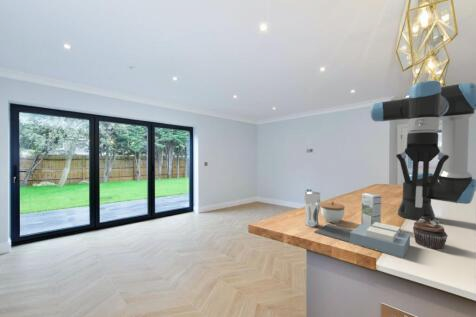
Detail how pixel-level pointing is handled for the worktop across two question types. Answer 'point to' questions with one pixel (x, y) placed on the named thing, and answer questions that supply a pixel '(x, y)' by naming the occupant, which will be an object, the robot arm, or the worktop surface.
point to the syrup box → (371, 209)
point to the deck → (381, 242)
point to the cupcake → (429, 233)
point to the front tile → (381, 234)
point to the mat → (335, 232)
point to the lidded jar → (332, 212)
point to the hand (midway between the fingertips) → (418, 206)
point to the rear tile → (387, 227)
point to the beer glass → (312, 208)
